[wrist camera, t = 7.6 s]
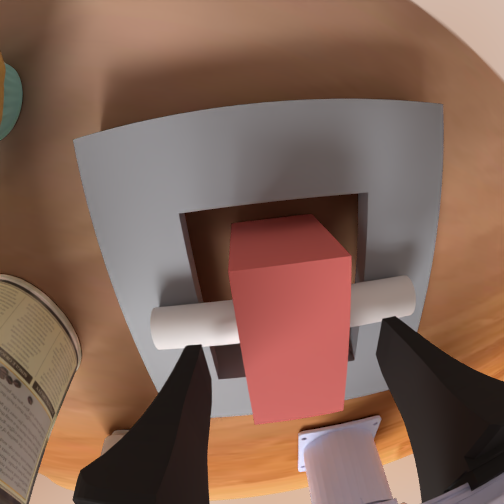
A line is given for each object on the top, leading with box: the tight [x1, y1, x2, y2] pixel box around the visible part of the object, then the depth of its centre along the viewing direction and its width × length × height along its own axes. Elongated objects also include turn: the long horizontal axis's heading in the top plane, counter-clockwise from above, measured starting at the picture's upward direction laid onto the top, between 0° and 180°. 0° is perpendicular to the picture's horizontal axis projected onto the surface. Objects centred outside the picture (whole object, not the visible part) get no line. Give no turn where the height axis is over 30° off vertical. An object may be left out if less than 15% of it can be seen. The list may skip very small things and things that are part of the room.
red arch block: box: [228, 214, 351, 424], centre depth 14 cm, size 8×4×6 cm, turn 7°
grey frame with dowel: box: [73, 99, 444, 418], centre depth 15 cm, size 18×16×5 cm
